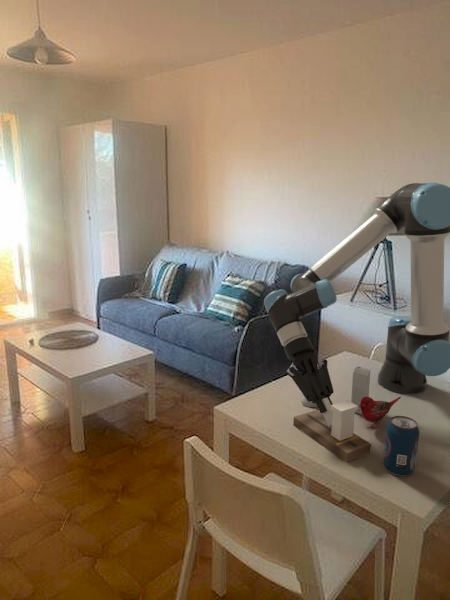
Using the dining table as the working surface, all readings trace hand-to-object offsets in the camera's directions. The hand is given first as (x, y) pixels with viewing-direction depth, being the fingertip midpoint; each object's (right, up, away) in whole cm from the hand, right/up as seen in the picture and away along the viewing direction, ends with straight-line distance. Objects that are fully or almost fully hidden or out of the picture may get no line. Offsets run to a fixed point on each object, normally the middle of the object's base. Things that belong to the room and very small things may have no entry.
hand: (333, 423), depth 116 cm
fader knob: (+2, -3, -2) cm, 3 cm away
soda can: (+13, -8, -10) cm, 18 cm away
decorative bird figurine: (+15, -3, +10) cm, 18 cm away
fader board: (0, -5, +3) cm, 5 cm away
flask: (-1, 0, +22) cm, 22 cm away
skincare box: (+12, -1, +19) cm, 22 cm away
